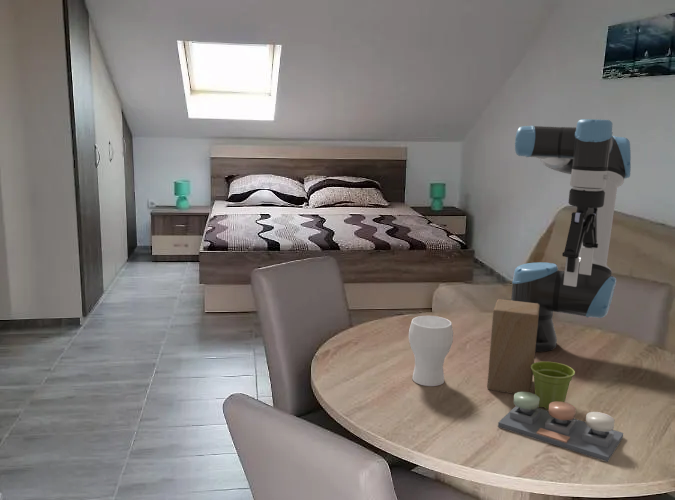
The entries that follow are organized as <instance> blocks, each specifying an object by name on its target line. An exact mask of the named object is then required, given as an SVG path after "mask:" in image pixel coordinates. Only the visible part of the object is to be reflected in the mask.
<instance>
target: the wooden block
mask: <svg viewBox="0 0 675 500" xmlns="http://www.w3.org/2000/svg"><path fill="white" fill-rule="evenodd" d="M539 307H540V305H539V304H538V303H529V302H520V301H512V300H511V299H510V300H508V299H502V298H501V299H500V298H499V299H497V300H496V302H495V305H494V308H493V311H492V323H491V334H490V335H491V336H490V346H489V347H490V348H489V349H490V350H489V359H488V373H487V382H486V383H487V384H486V385H487V386H486V387H487V390H489V391H490V390H491V391H496V392H501V393H509V394H515V393H517V392H530V393H532V387H533V381H534V376H533V371H532V370H531V365H532V364H533V363H535V359H536V357H535V355H536V352H535V348H536V338H537V328H538V317H539Z"/></svg>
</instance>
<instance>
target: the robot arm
mask: <svg viewBox="0 0 675 500" xmlns="http://www.w3.org/2000/svg"><path fill="white" fill-rule="evenodd" d="M514 150H515V152H514V153H515V154H516V155H517V156H519V157H526V158H536V159H538V160H539V161H540V162H541V164H542V165H543V166H545V167H546V168H548V169H551V170H554V171H557V172H560V173H562V174H568V175H570V182H569V186H570V187H571V188H570V189H569V193H568V194H569V195H568V204H569V205H570V206H572V207H576V212H573V211H572V212H571V220H570V224H569V228H568V229H569V230H568V234H567V239H566V243H565V248H564V250H563V252H562V257H565V267H564V270H560V269H559V267H558V265H557V264H556V263H552V262H540V261H539V262H529V263H522V264H520V265H517V267H515V269H514V271H513V277H512V278H513V279H512V281H511V283H512V286H511V287H512V288H511V299H510V300H512V301H520V302H529V303H538V304H539V305H540V307H539V317H538V328H537V338H536V348H535V353H541V352H550V351H552V350H554V349H555V348H556V347H557V342H558V341H557V340H558V338H557V333H556V330H555V326H554V321H553V318H554V317H553V316H554V313H561V314H567V315H573V316H574V315H575V316H581V317H586V318H596V319H597V318H598V319H601V318H604V317H605V316H606V317H607V314H608V313H609V310H610V307H611V305H612V304H611V303H612V300H613V297H614V292H615V288H616V285H617V278H616V277H615V276H612V269H611V268H610V267H609V265H608V257H609V249H610V243H611V236H612V227H613V220H614V214H615V213H614V212H615V207H616V199H617V192H618V188H619V187H622V185H623V184H624V183H625V179H629V178H630V177H631V159H632V157H631V141H630V139H629V138H627V137H625V136H624V137H623V136H616V135H613V122H612V121H611V119H610V120H609V119H597V118H596V119H594V118H593V119H592V118H590V119H589V118H581V119H579V120H578V121H577V123H576V127H574V126H573V127H572V126H571V127H570V126H568V127H567V126H561V127H560V126H541V125H540V126H539V125H538V126H537V125H536V126H535V125H522V126H519V127H518V129H517V130H516V134H515V142H514Z"/></svg>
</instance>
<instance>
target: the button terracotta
mask: <svg viewBox="0 0 675 500" xmlns="http://www.w3.org/2000/svg"><path fill="white" fill-rule="evenodd" d="M547 411H548V413H549V414H550V415H551V416H552V417H554V418H555V421H556V422H559V423H567V420H572V419H576V413H577V412H576V411H577V409H576V407H575V406H574V405H573V404H570V403H568V402H566V401H565V402H559V401H556V402H551V403H550V404H549V410H547Z"/></svg>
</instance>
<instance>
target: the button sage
mask: <svg viewBox="0 0 675 500" xmlns="http://www.w3.org/2000/svg"><path fill="white" fill-rule="evenodd" d="M513 394H514V393H513ZM539 400H540V398H539V397H538V396H537V395H535V393H533V392H531V393H530V392H517V393H515V394H514V395H513V405H514V406H517V407H520V410H521V411H522V412H526V413H529V412H531V410H532V409H536V408H539Z"/></svg>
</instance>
